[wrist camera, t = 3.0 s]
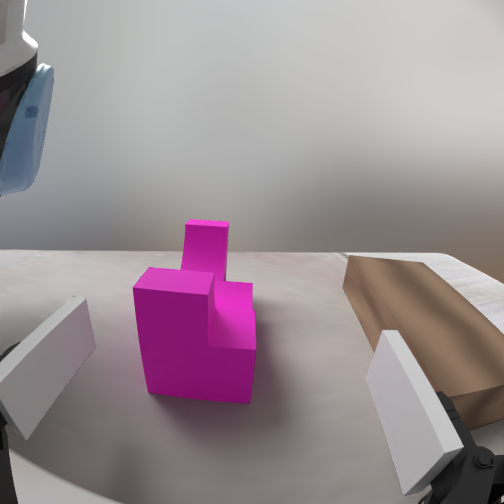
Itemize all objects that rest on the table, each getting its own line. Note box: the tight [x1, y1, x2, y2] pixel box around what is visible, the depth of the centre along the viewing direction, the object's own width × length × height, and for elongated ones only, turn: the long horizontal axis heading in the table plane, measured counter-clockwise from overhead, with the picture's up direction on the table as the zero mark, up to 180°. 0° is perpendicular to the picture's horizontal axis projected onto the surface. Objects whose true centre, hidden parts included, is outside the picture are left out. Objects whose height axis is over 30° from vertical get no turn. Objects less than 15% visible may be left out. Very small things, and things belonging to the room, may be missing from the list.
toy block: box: [133, 219, 256, 404], centre depth 22 cm, size 15×6×8 cm, turn 1°
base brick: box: [343, 255, 504, 430], centre depth 22 cm, size 10×22×4 cm, turn 177°
